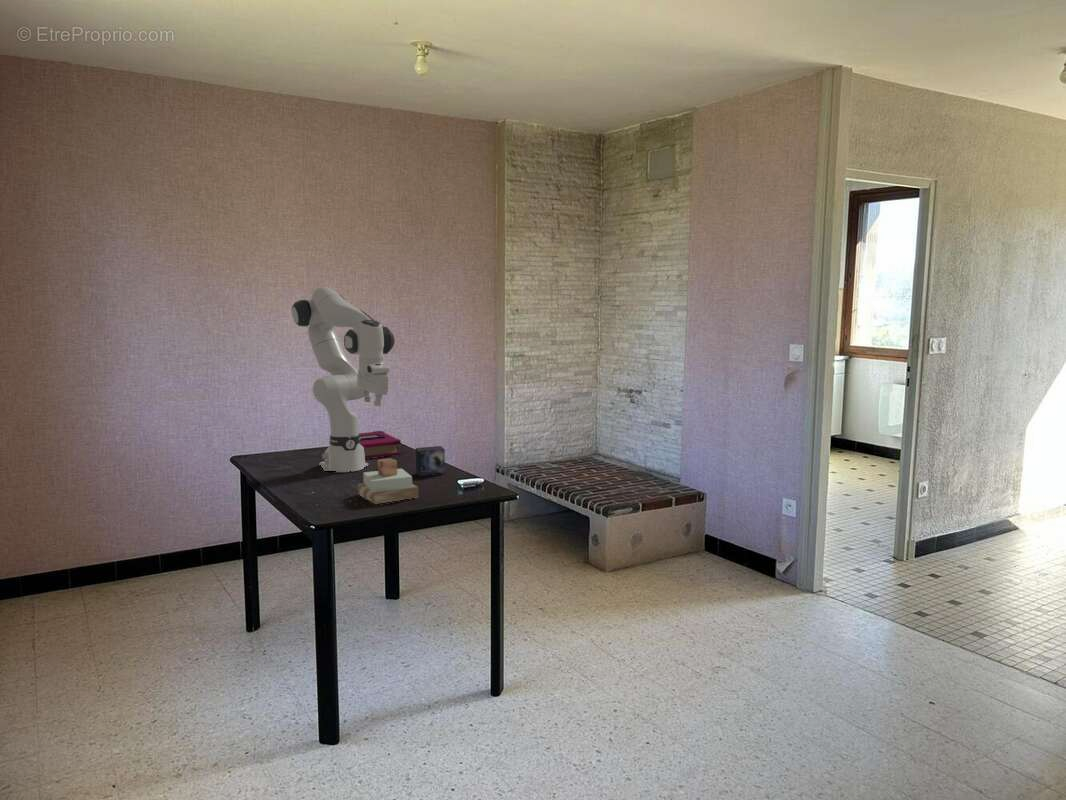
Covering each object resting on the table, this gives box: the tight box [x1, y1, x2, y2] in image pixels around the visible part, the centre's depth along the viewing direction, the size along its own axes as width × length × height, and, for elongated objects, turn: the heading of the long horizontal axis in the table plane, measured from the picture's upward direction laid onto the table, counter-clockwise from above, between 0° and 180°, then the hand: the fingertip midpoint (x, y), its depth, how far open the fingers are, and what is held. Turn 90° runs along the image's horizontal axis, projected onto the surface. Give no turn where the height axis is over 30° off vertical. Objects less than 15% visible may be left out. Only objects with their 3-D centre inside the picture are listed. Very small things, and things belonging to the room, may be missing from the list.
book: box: [359, 430, 402, 458], centre depth 346 cm, size 21×28×8 cm
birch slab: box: [357, 482, 419, 505], centre depth 270 cm, size 16×16×4 cm
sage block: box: [362, 468, 413, 493], centre depth 269 cm, size 14×14×4 cm
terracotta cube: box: [377, 457, 398, 476], centre depth 269 cm, size 5×5×5 cm
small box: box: [415, 445, 446, 477], centre depth 303 cm, size 11×6×10 cm, turn 112°
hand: (372, 403), depth 276 cm, fingers open, 8 cm apart
